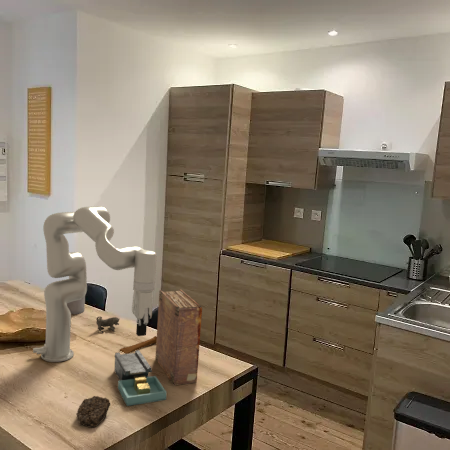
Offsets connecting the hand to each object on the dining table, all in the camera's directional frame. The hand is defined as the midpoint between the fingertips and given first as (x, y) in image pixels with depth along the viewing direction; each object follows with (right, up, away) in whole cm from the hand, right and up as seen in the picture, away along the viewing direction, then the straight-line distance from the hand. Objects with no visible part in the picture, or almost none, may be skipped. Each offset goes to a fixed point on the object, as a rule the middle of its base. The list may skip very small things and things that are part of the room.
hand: (141, 334), depth 169 cm
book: (+10, -19, +20) cm, 30 cm away
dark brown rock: (-13, -23, -18) cm, 31 cm away
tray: (0, -21, -1) cm, 21 cm away
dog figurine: (-26, -11, +58) cm, 65 cm away
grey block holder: (-6, -19, +11) cm, 23 cm away
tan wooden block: (-1, -18, +3) cm, 18 cm away
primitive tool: (-8, -16, +40) cm, 44 cm away
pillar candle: (-50, -7, +81) cm, 95 cm away
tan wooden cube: (+1, -18, -2) cm, 18 cm away
